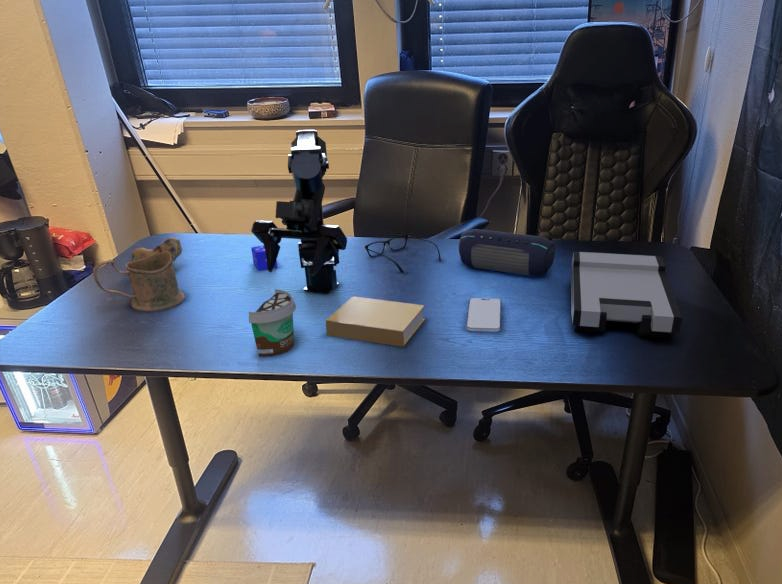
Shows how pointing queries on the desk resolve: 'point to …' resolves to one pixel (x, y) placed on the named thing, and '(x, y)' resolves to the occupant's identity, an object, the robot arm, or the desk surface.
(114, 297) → the desk surface
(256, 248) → the die
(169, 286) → the mug
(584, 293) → the game console
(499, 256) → the portable speaker
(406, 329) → the book
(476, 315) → the smartphone
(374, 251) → the eyeglasses
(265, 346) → the food container
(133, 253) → the lion figurine
